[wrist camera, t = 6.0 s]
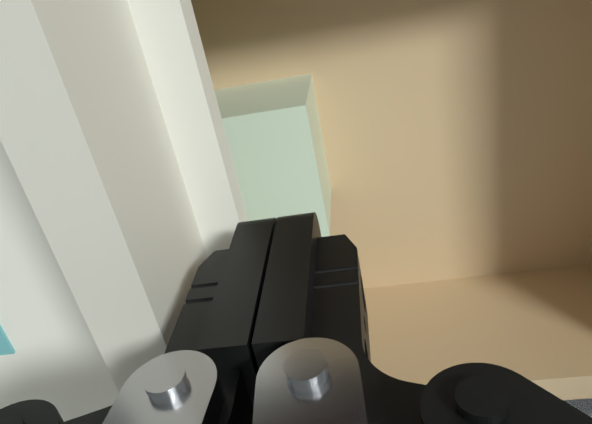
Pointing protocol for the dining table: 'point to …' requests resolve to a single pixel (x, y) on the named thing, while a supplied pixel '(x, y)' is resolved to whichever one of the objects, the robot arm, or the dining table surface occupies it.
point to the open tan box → (446, 167)
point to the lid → (103, 191)
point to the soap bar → (278, 148)
